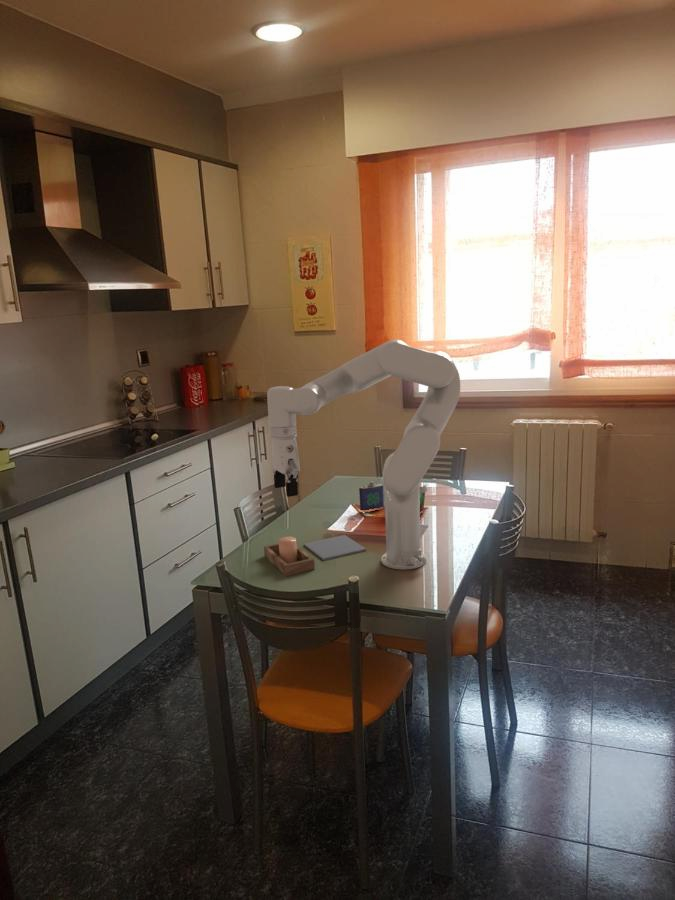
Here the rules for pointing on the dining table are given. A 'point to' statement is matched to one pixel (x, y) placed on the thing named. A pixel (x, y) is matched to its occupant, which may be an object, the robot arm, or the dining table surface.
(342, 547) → the rubber mat
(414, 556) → the robot arm
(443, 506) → the dining table surface
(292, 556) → the clay cylinder
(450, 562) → the dining table surface
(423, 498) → the food container
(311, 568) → the pocket frame
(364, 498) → the flask
